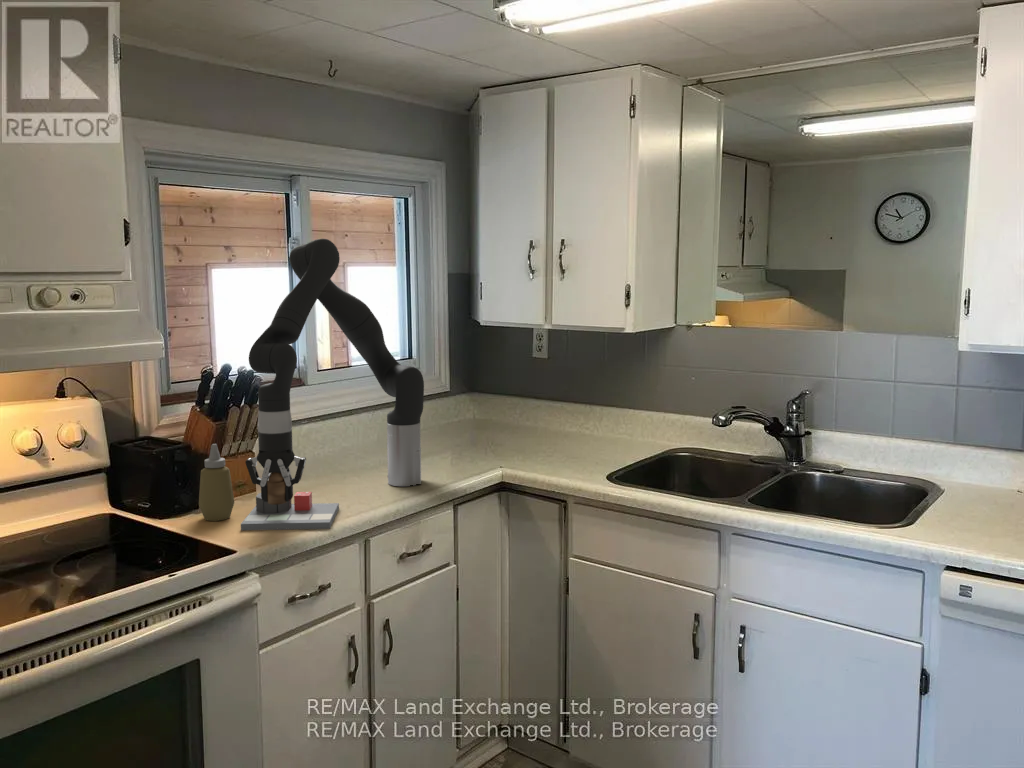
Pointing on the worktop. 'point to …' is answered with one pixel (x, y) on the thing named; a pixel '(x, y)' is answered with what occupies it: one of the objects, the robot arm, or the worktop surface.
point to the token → (276, 489)
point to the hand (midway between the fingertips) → (277, 500)
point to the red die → (303, 500)
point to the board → (289, 516)
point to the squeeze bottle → (215, 488)
